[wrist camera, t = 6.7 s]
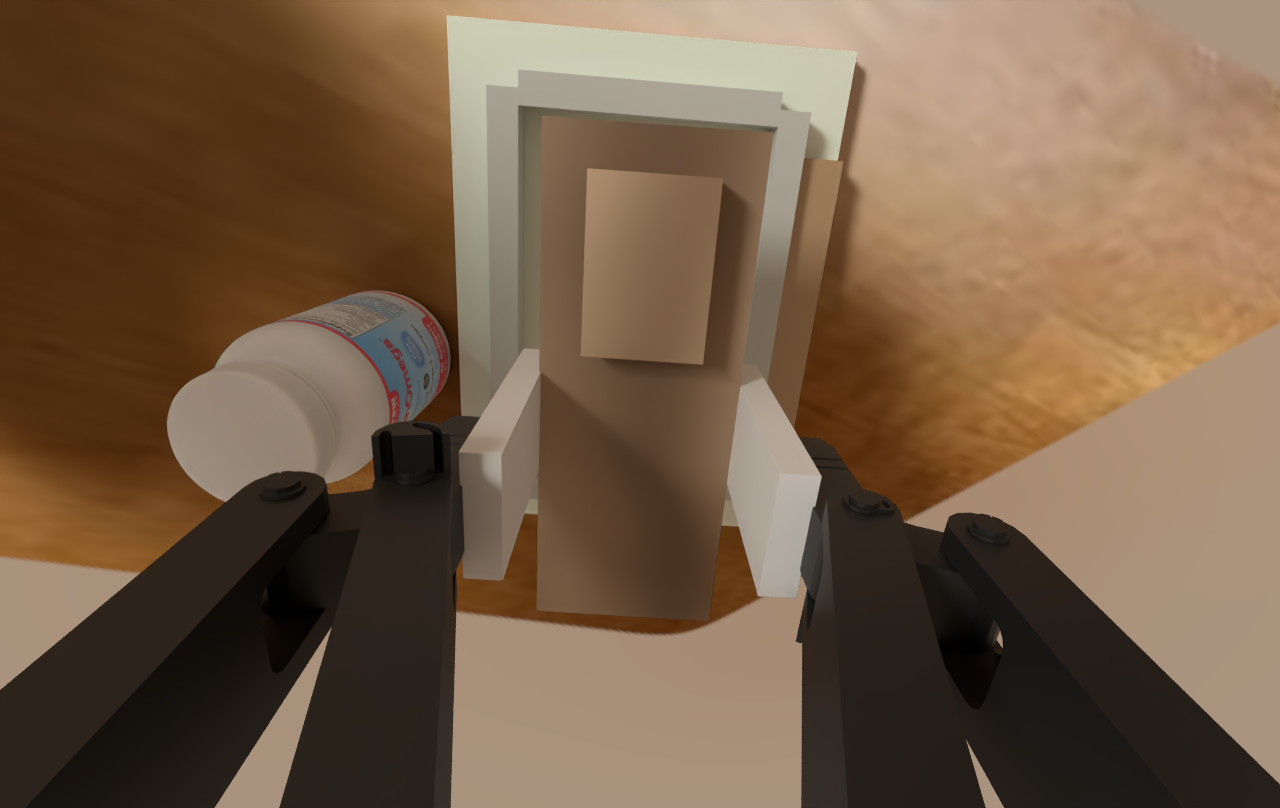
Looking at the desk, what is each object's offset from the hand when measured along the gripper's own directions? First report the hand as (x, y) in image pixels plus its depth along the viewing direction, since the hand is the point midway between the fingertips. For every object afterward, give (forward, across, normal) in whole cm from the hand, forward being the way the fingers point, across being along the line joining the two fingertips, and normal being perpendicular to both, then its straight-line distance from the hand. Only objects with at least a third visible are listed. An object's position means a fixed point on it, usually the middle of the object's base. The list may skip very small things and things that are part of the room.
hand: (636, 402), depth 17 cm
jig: (+12, 0, 0) cm, 12 cm away
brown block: (+3, 0, 0) cm, 3 cm away
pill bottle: (+12, -12, -3) cm, 17 cm away
